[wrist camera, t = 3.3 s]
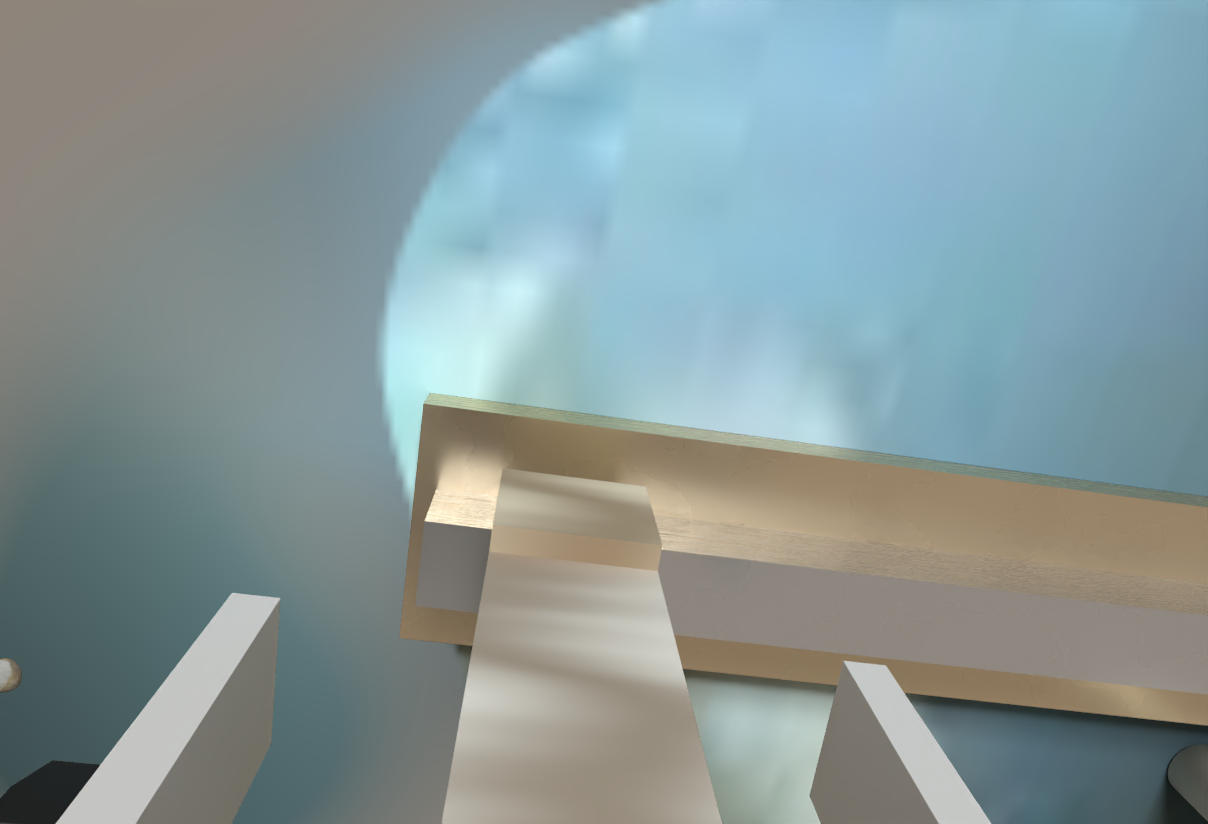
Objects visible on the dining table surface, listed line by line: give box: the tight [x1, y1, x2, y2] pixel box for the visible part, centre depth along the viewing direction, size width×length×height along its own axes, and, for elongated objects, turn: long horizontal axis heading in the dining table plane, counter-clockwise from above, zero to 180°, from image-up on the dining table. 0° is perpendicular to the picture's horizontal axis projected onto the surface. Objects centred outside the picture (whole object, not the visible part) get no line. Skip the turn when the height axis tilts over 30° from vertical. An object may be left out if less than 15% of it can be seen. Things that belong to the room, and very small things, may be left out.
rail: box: [400, 393, 1208, 726], centre depth 21 cm, size 24×6×3 cm, turn 81°
